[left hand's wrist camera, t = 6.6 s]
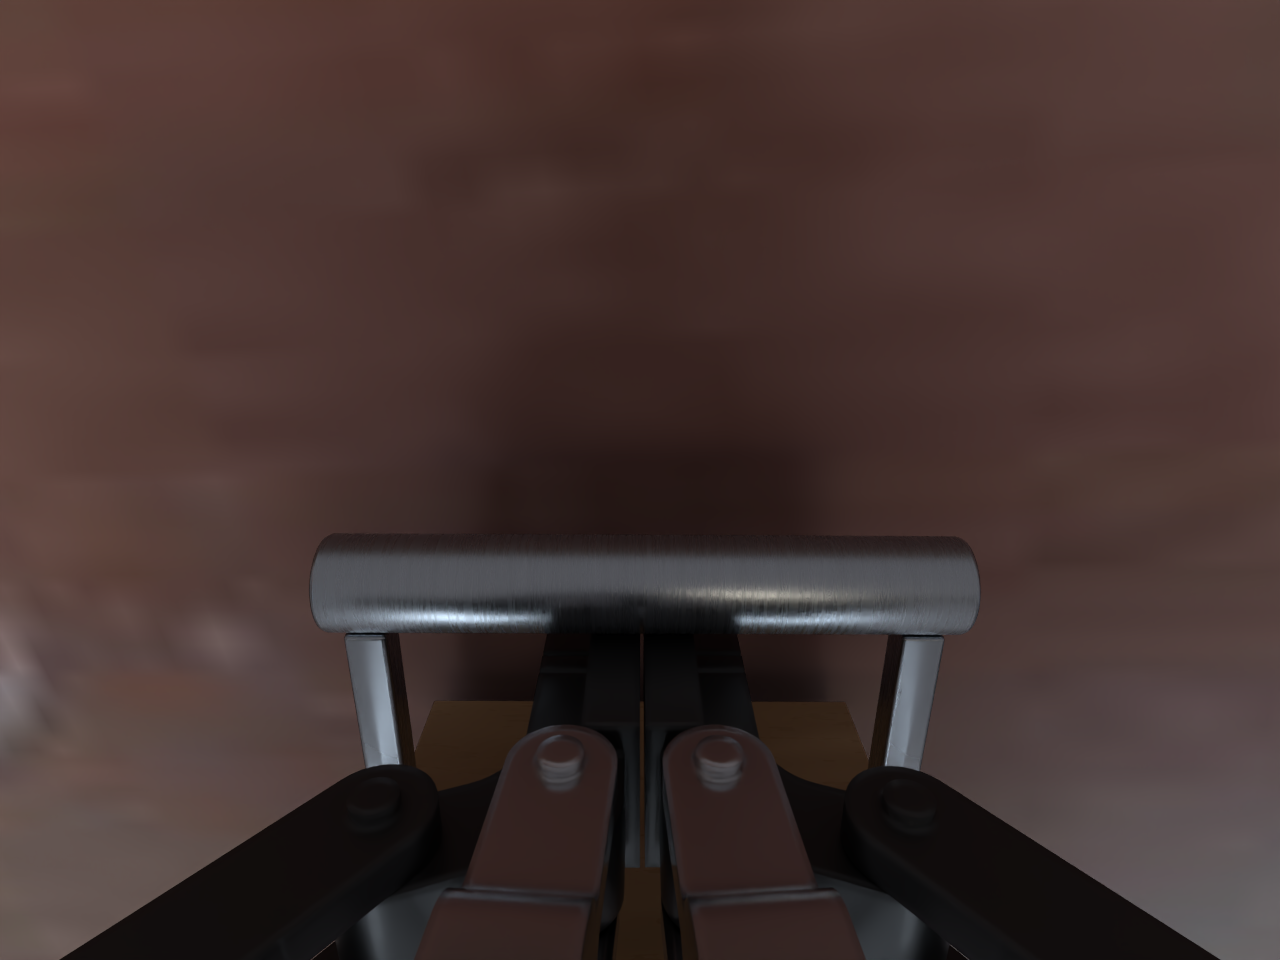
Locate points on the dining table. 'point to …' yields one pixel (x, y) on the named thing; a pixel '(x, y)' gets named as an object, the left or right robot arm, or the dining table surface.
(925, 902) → the left robot arm
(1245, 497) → the dining table surface
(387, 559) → the drawer
